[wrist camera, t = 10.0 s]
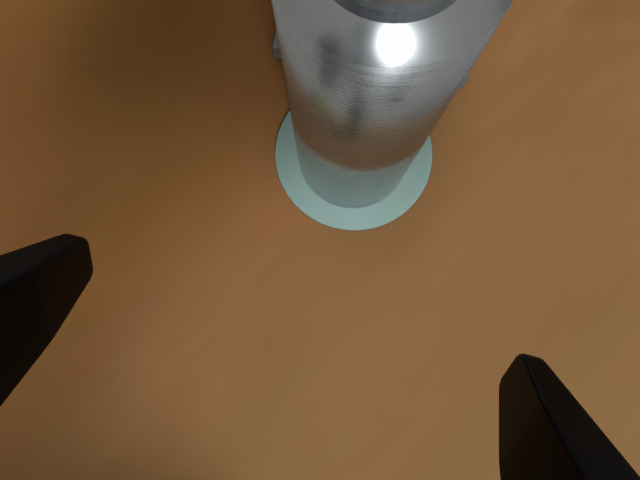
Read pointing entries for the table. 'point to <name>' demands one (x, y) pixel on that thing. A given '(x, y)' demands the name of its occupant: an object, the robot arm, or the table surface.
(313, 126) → the canister
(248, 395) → the table surface
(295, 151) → the pale green disc
